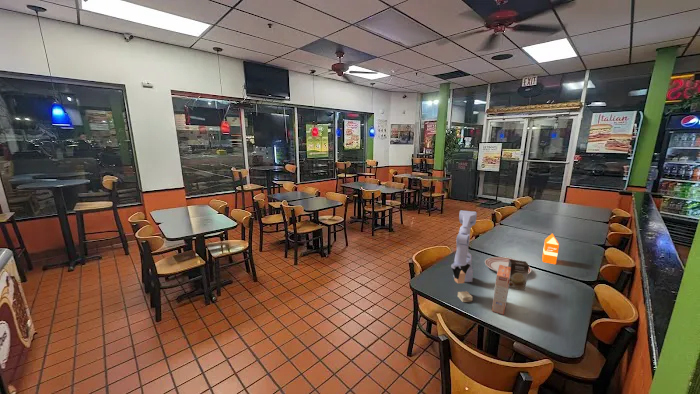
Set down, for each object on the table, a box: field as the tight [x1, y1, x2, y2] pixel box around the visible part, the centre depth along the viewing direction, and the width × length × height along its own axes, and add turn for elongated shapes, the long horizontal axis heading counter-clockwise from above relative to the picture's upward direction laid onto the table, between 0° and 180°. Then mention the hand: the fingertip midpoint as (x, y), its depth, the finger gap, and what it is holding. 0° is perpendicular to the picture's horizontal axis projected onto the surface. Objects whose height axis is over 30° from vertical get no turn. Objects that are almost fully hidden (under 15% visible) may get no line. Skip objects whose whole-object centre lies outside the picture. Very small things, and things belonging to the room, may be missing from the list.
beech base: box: [457, 290, 473, 303], centre depth 148 cm, size 6×6×3 cm
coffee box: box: [508, 258, 530, 291], centre depth 158 cm, size 9×6×16 cm
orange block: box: [453, 270, 466, 285], centre depth 153 cm, size 4×4×6 cm
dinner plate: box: [484, 256, 532, 275], centre depth 182 cm, size 28×27×3 cm
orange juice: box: [541, 233, 560, 265], centre depth 192 cm, size 8×9×20 cm
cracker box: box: [491, 265, 511, 316], centre depth 139 cm, size 14×6×21 cm, turn 146°
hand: (459, 276), depth 153 cm, fingers closed on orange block, 5 cm apart
